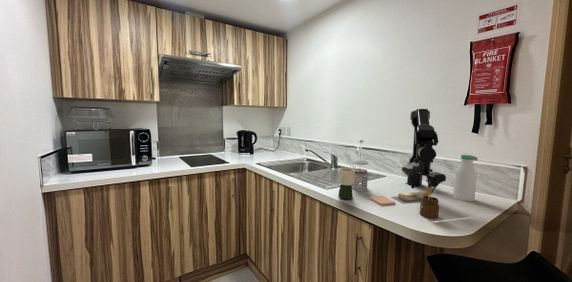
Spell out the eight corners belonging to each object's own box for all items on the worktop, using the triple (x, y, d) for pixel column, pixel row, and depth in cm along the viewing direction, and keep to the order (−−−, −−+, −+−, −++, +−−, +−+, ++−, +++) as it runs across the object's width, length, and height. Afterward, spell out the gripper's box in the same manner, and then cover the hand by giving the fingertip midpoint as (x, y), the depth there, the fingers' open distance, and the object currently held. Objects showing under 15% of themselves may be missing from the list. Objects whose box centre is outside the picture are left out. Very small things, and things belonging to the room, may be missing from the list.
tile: (382, 195, 103) (369, 196, 101) (395, 202, 95) (381, 203, 94) (382, 199, 103) (368, 200, 102) (395, 206, 96) (380, 207, 94)
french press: (373, 190, 114) (376, 140, 111) (356, 193, 109) (358, 141, 106) (359, 185, 123) (361, 138, 120) (342, 187, 117) (344, 139, 115)
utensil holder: (439, 216, 85) (442, 185, 84) (435, 221, 81) (438, 188, 79) (422, 211, 89) (424, 181, 88) (416, 216, 85) (419, 184, 84)
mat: (423, 195, 108) (423, 194, 108) (437, 201, 101) (437, 200, 100) (389, 197, 104) (390, 196, 104) (402, 204, 96) (402, 203, 96)
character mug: (343, 193, 110) (344, 166, 108) (357, 196, 105) (359, 168, 104) (332, 199, 101) (333, 170, 100) (347, 203, 97) (349, 173, 95)
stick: (424, 196, 105) (425, 191, 105) (428, 198, 103) (429, 193, 103) (398, 198, 102) (398, 193, 102) (402, 200, 100) (402, 195, 99)
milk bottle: (478, 203, 99) (483, 157, 97) (457, 201, 101) (462, 156, 99) (468, 196, 107) (473, 154, 104) (449, 195, 108) (453, 153, 106)
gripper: (393, 154, 108) (391, 186, 110) (425, 162, 90) (422, 200, 92) (413, 153, 111) (410, 185, 112) (448, 161, 93) (445, 198, 94)
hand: (420, 191), depth 103 cm, fingers open, 9 cm apart
